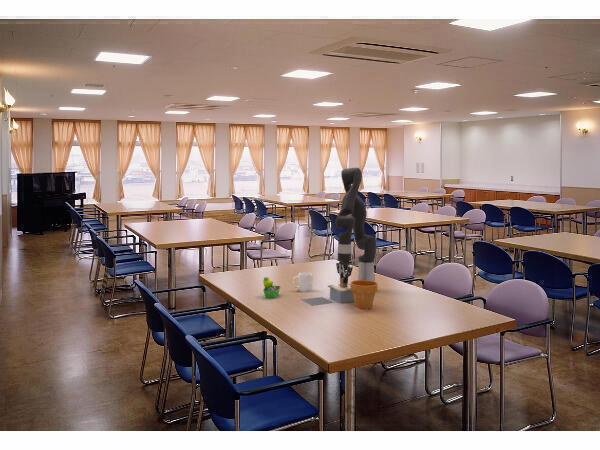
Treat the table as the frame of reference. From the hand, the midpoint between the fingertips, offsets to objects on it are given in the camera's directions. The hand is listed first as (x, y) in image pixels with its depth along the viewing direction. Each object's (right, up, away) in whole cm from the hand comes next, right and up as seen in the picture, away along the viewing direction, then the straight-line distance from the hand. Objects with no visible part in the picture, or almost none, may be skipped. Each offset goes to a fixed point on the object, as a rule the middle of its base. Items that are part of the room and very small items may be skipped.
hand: (343, 282), depth 294 cm
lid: (0, -3, 0) cm, 3 cm away
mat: (-15, -10, -3) cm, 18 cm away
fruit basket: (-41, -9, +8) cm, 43 cm away
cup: (-23, -8, +23) cm, 33 cm away
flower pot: (+9, -12, -12) cm, 19 cm away
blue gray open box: (0, -10, +1) cm, 10 cm away
